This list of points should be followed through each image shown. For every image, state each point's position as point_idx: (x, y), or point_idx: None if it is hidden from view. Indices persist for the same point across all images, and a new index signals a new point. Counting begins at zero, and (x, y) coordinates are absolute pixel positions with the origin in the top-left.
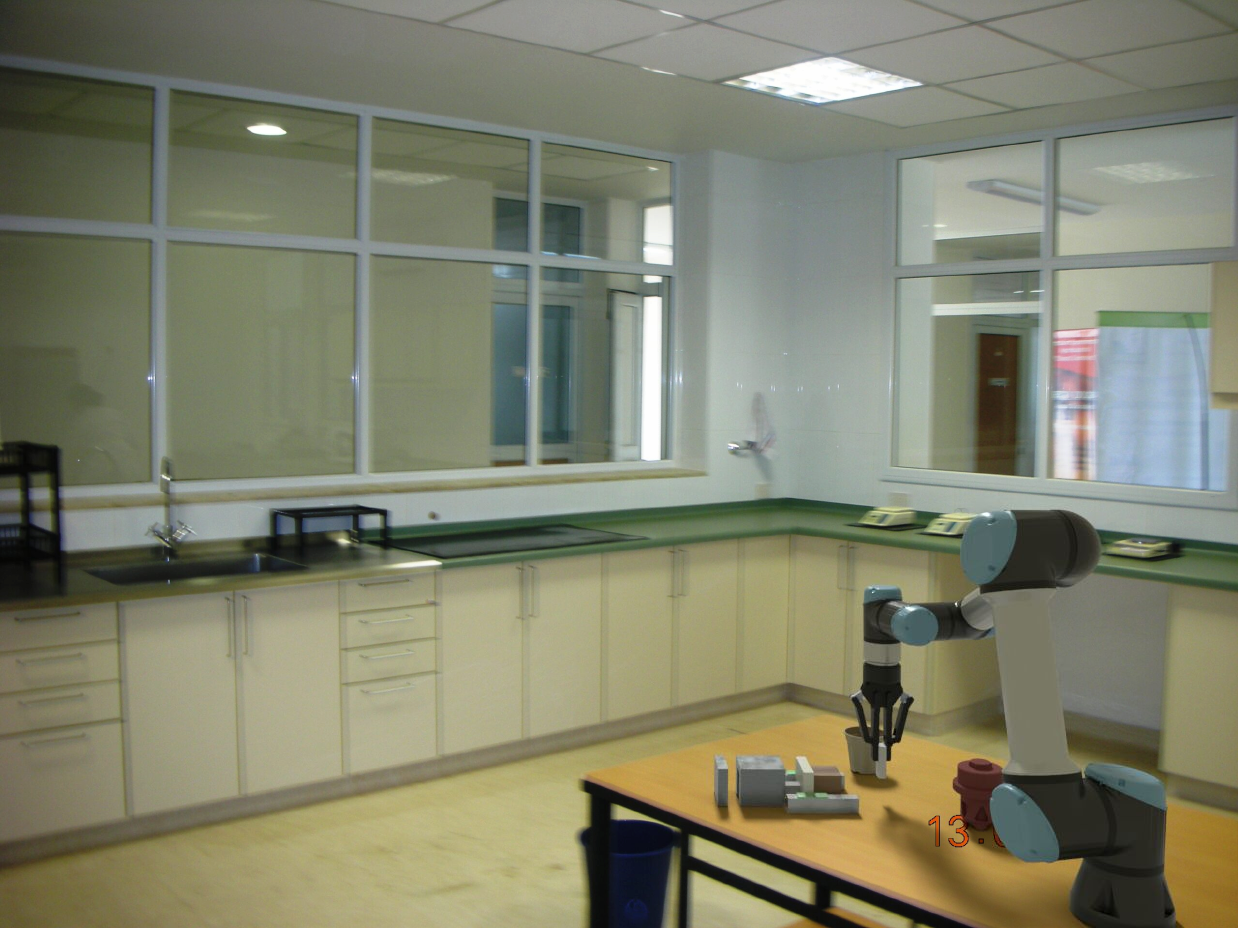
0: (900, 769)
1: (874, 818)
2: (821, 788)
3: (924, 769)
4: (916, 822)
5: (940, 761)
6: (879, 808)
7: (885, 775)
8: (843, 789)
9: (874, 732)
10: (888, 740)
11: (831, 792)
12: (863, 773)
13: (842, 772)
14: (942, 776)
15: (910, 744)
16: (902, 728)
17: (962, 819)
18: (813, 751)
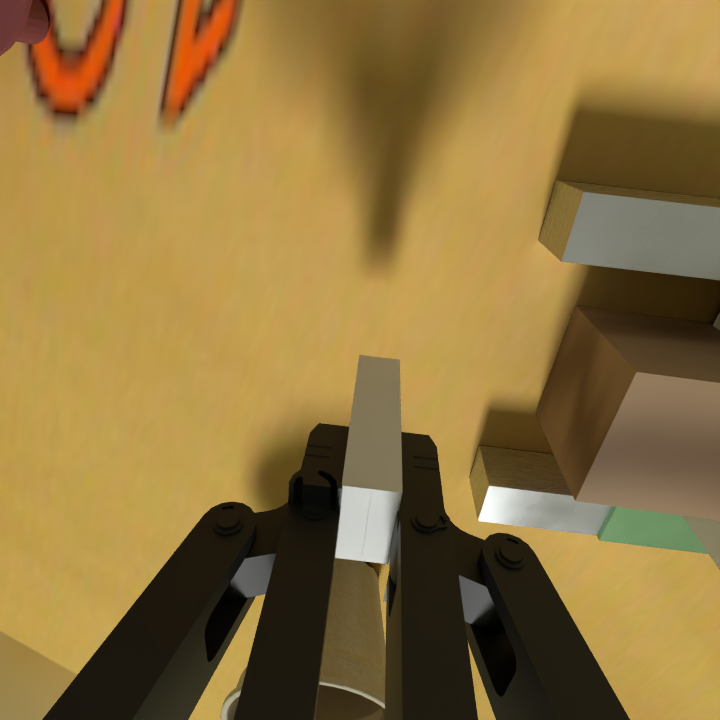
0: None
1: (507, 103)
2: (708, 350)
3: (134, 557)
4: (303, 16)
5: (75, 598)
6: (422, 239)
7: (362, 362)
8: (482, 446)
9: (453, 617)
10: (315, 529)
11: (646, 334)
12: None
13: (480, 514)
14: (83, 505)
15: None
16: (133, 625)
17: (46, 18)
18: None
